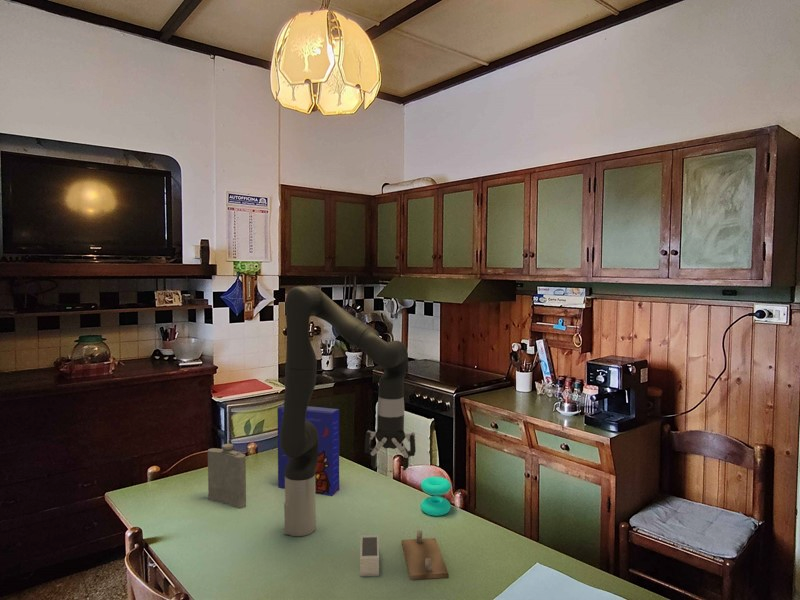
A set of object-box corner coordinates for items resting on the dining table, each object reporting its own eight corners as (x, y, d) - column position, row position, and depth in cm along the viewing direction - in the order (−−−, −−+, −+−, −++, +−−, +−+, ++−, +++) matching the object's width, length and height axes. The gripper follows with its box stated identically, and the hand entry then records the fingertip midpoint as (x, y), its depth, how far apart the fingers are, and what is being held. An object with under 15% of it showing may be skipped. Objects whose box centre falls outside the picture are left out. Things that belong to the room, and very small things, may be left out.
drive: (360, 577, 138) (360, 558, 138) (360, 552, 150) (360, 534, 150) (379, 576, 139) (379, 557, 138) (378, 551, 151) (378, 534, 150)
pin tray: (410, 580, 137) (410, 564, 136) (401, 543, 155) (401, 529, 154) (448, 577, 138) (448, 561, 138) (435, 541, 156) (435, 528, 155)
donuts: (429, 473, 182) (456, 479, 177) (429, 501, 183) (455, 508, 178) (415, 483, 174) (442, 489, 169) (415, 512, 174) (442, 520, 169)
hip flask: (206, 499, 183) (205, 443, 182) (215, 495, 187) (214, 439, 185) (241, 509, 176) (240, 450, 175) (249, 504, 180) (249, 446, 178)
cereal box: (339, 489, 192) (339, 408, 190) (332, 496, 186) (331, 412, 184) (286, 481, 199) (285, 403, 197) (278, 487, 193) (277, 407, 191)
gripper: (363, 414, 145) (362, 472, 146) (414, 417, 143) (413, 475, 145) (368, 407, 153) (367, 462, 154) (417, 410, 151) (416, 465, 152)
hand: (389, 468), depth 149 cm, fingers open, 8 cm apart
